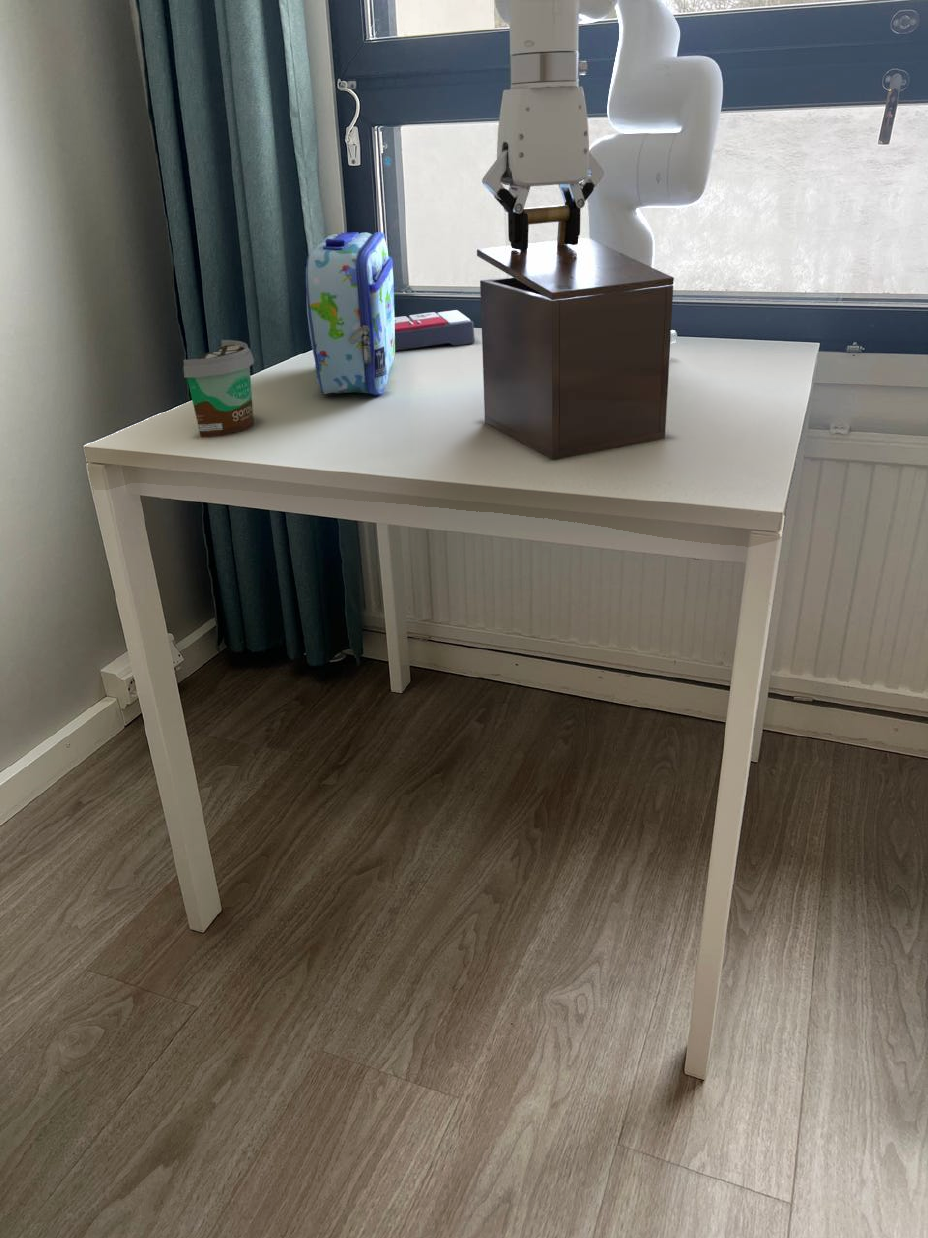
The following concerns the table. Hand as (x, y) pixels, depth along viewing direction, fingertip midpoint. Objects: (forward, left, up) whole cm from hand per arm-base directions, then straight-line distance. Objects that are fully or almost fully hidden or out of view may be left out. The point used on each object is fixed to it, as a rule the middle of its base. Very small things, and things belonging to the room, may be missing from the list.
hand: (544, 244), depth 116 cm
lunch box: (+14, -32, -21) cm, 41 cm away
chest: (0, +7, -21) cm, 22 cm away
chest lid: (0, +6, -2) cm, 7 cm away
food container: (+36, -18, -21) cm, 46 cm away
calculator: (-5, -52, -21) cm, 57 cm away
